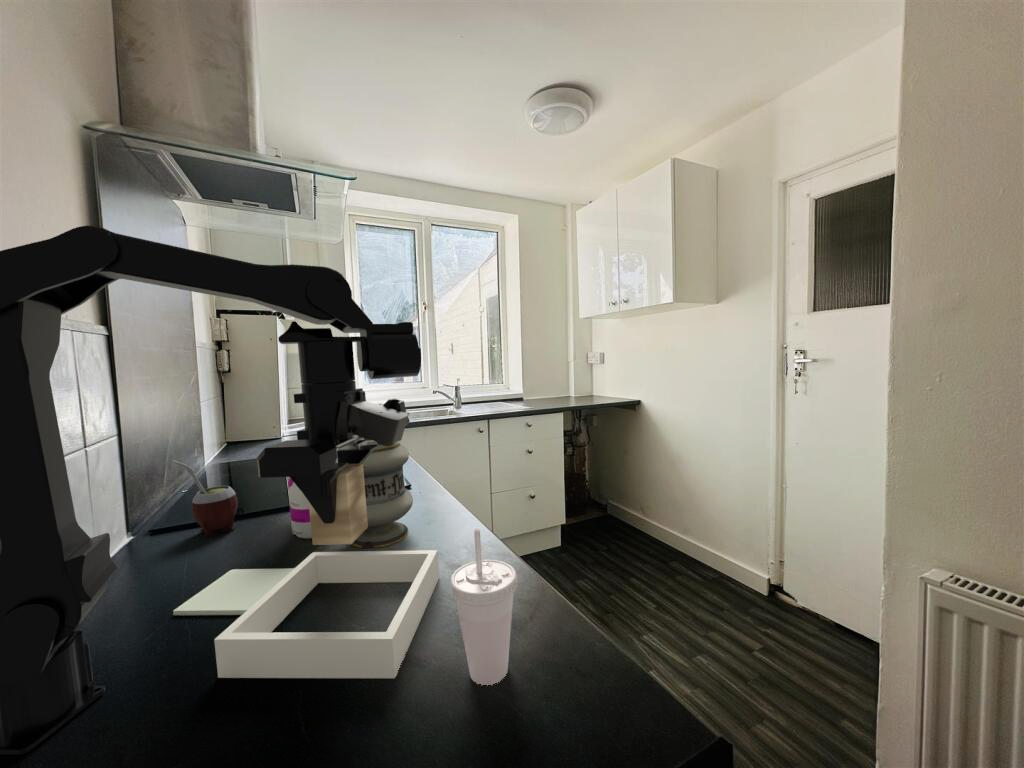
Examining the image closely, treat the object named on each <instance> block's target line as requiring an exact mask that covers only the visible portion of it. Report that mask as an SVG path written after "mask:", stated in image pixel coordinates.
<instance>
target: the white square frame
mask: <svg viewBox="0 0 1024 768" xmlns="http://www.w3.org/2000/svg"><path fill="white" fill-rule="evenodd" d="M438 550H439V549H431V550H429V549H427V550H425V549H424V550H421V549H420V550H416V549H415V550H376V551H375V550H374V551H373V550H372V551H371V550H370V551H368V550H367V551H365V550H364V551H361V550H359V551H357V550H356V551H313V552H312V553H310V554H309V555H308V556H307V557H306V558H305V559H303V560H302V561H301V562H300V563H299V564H298V565H296V566H295V567H294V568H295V569H293V570H292V571H291V572H290V573H289V574H288V575H287V576H286V577H284V578H283V579H282V580H281V581H280V582H279V583H278V584H276V585H275V586H274V587H273V588H272V589H271V590H270V591H269V592H267V593H266V594H265V595H264V596H263V597H262V598H261V599H259V600H258V601H257V602H256V603H255V604H254V605H253V606H252V607H250V608H249V609H248V610H247V611H246V612H245V613H244V614H243V615H239V617H237V618H236V619H235V620H234V621H233V622H232V623H231V624H230V625H229V626H228V627H227V628H225V629H224V630H223V631H222V632H221V633H219V635H218V636H216V637H215V638H214V640H213V642H214V648H215V649H214V650H215V659H216V660H215V661H216V669H217V678H218V679H219V678H220V679H224V678H225V679H396V678H395V677H397V675H398V674H399V671H400V669H399V668H401V666H402V664H403V662H404V659H405V658H406V655H407V653H408V650H409V648H410V646H411V644H412V641H413V638H414V636H415V634H416V632H417V630H418V628H419V625H420V623H421V620H422V618H423V616H424V614H425V611H426V608H427V607H428V604H429V602H430V600H431V598H432V597H433V593H434V591H435V588H436V586H437V583H438V582H439V579H440V570H439V569H440V568H439V551H438ZM345 583H346V584H348V583H349V584H353V583H354V584H355V583H356V584H357V583H359V584H360V583H363V584H364V583H367V584H370V583H411V586H410V587H409V589H408V591H407V592H406V594H405V596H404V598H403V600H402V602H401V603H400V605H399V607H398V609H397V611H396V613H395V614H394V617H393V619H392V620H391V622H390V624H389V625H388V628H387V630H386V631H349V632H348V631H335V632H333V631H329V632H328V631H322V632H320V631H316V632H315V631H314V632H313V631H312V632H306V631H304V632H300V631H298V632H297V631H296V632H288V631H287V632H280V631H279V632H276V631H275V632H273V631H274V630H275V629H276V628H277V627H278V626H279V625H280V624H281V623H282V622H283V621H284V620H285V618H286V617H287V616H288V615H289V614H290V613H291V612H292V611H293V610H294V609H295V608H296V607H297V606H298V605H299V604H300V603H301V602H302V601H303V600H304V599H305V598H306V596H307V595H309V593H311V592H312V590H313V589H314V588H315V587H317V585H318V584H345ZM406 652H407V653H406ZM405 654H406V655H405ZM402 661H403V662H402ZM401 663H402V664H401ZM400 665H401V666H400ZM398 670H399V671H398Z"/></svg>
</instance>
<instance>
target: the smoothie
mask: <svg viewBox="0 0 1024 768" xmlns="http://www.w3.org/2000/svg"><path fill="white" fill-rule="evenodd" d="M473 532H474V551H475V561H471V562H468V563H466V564H464V565H462V566H460V567H459V568H457V569H456V570H455V571H454V572H453V573H452V575H451V576H450V577H451V578H450V592H451V594H452V596H453V597H454V598H455V604H456V608H457V613H458V618H459V624H460V628H461V629H460V630H461V635H462V639H463V645H464V649H465V655H466V660H467V666H468V670H469V671H468V672H469V677H470V678H471V680H472V681H473V682H474V683H475V682H476V683H475V684H477V685H479V684H481V685H480V686H483V685H487V686H486V687H488V685H491V686H494V685H493V684H495V683H497V684H499V683H501V682H502V681H503V680H504V679H505V678H506V677H505V676H507V675H506V674H508V671H509V658H510V656H509V655H510V646H511V645H510V642H511V631H512V618H513V617H512V615H513V605H514V604H513V603H514V592H515V591H516V589H517V587H518V579H517V572H516V570H515V568H514V567H513V566H511V565H510V564H509V563H507V562H505V561H501V560H498V559H482V543H481V530H480V529H479V528H476V529H474V530H473ZM504 677H505V678H504ZM503 678H504V679H503ZM502 679H503V680H502ZM501 680H502V681H501ZM500 681H501V682H500ZM498 682H499V683H498ZM495 685H496V684H495Z"/></svg>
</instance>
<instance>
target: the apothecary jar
mask: <svg viewBox="0 0 1024 768" xmlns="http://www.w3.org/2000/svg"><path fill="white" fill-rule="evenodd" d="M364 440H367V445H378V446H377V448H376V449H375V450H374V451H373V452H372V453H371V454H370V455H369V456H368V457H367V458H366V459H365V460H364V463H363V470H364V483H365V496H366V510H367V523H368V528H367V529H366V530H365V531H364V532H363V533H362V534H361V535H360V536H359V537H358V538H357V539H356V540H355V541H354V542H353V543H352V544H351V545H352V547H356V548H359V549H365V548H373V549H377V548H378V549H379V548H384V547H388V546H391V545H393V544H396V543H399V542H401V541H402V540H403V539H405V538H406V537H407V536H408V534H409V528H408V526H407V525H406V524H405V523H402V522H398V520H400V519H402V518H403V517H404V516H405V515H407V514H408V513H409V511H410V510H411V509H412V506H413V504H414V498H413V495H412V493H411V492H410V490H408V488H405V487H406V486H405V478H404V477H405V476H404V465H405V464H406V463H407V462H408V460H409V458H410V453H409V451H408V448H407V447H406V446H404V445H403V444H402V443H400V441H397V442H395V444H394V445H393V446H383V445H380V444H378V443H377V442H376V441H373V440H370V439H367V438H364Z"/></svg>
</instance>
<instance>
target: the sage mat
mask: <svg viewBox="0 0 1024 768" xmlns="http://www.w3.org/2000/svg"><path fill="white" fill-rule="evenodd" d="M295 568H296V567H293V568H290V567H289V568H242V569H241V568H235V569H233V568H232V569H230V570H229V571H227V572H226V573H225V574H223V575H222V576H220V577H219V578H217V579H216V580H215V581H213V582H211V583H210V584H209V585H208V586H206V587H204V588H203V589H201V590H200V591H199V592H198V593H196V594H195V595H193V596H192V597H190V598H189V599H187V600H186V601H185V602H183V603H182V604H181V605H179V606H177V607H176V608H175V609H173V616H238V615H239V616H241V615H243V614H244V613H245V612H246V611H247V610H248V609H249V608H250V607H252V606H253V605H254V604H255V603H256V602H257V601H258V600H259V599H261V598H262V597H263V596H264V595H265V594H266V593H267V592H269V591H270V590H271V589H272V588H273V587H274V586H275V585H276V584H278V583H279V582H280V581H281V580H282V579H283V578H284V577H286V576H287V575H288V574H289V573H290V572H291V571H292V570H293V569H295Z"/></svg>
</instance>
